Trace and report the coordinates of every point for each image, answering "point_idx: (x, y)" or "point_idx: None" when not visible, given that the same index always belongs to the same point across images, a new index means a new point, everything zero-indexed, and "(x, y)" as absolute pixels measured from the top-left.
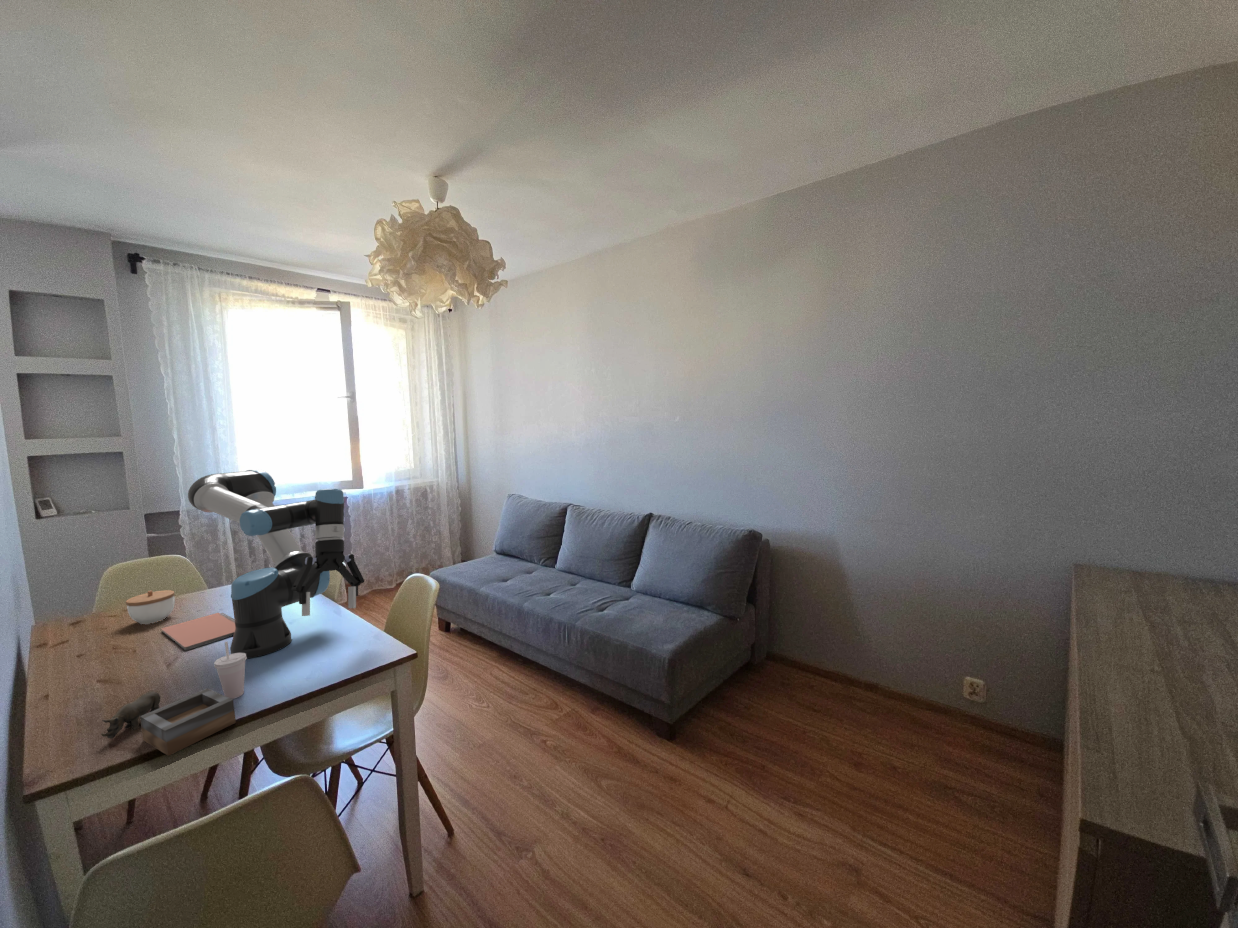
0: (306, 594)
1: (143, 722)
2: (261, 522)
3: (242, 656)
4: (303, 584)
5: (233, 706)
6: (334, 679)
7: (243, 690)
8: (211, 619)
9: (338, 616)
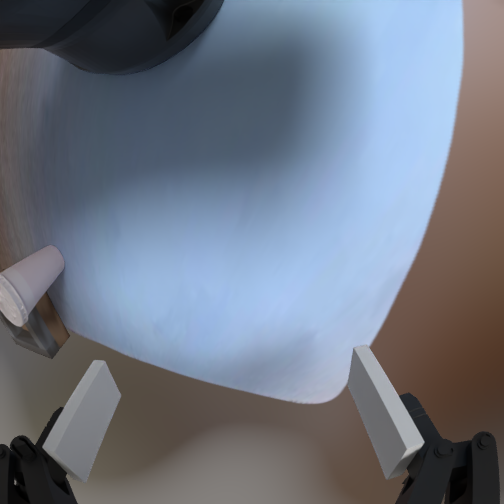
0: (72, 464)
1: None
2: None
3: (19, 317)
4: (34, 493)
5: (57, 351)
6: (192, 370)
7: (61, 270)
8: None
9: None
